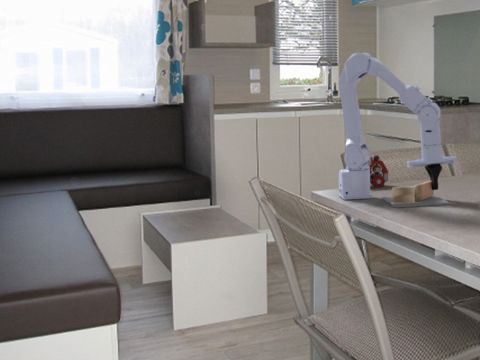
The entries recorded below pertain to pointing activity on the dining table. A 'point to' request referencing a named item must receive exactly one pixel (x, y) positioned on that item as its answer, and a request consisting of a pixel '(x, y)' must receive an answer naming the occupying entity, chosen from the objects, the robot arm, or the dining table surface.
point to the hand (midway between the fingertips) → (433, 189)
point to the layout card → (425, 202)
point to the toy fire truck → (377, 172)
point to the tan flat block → (426, 190)
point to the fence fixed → (406, 194)
